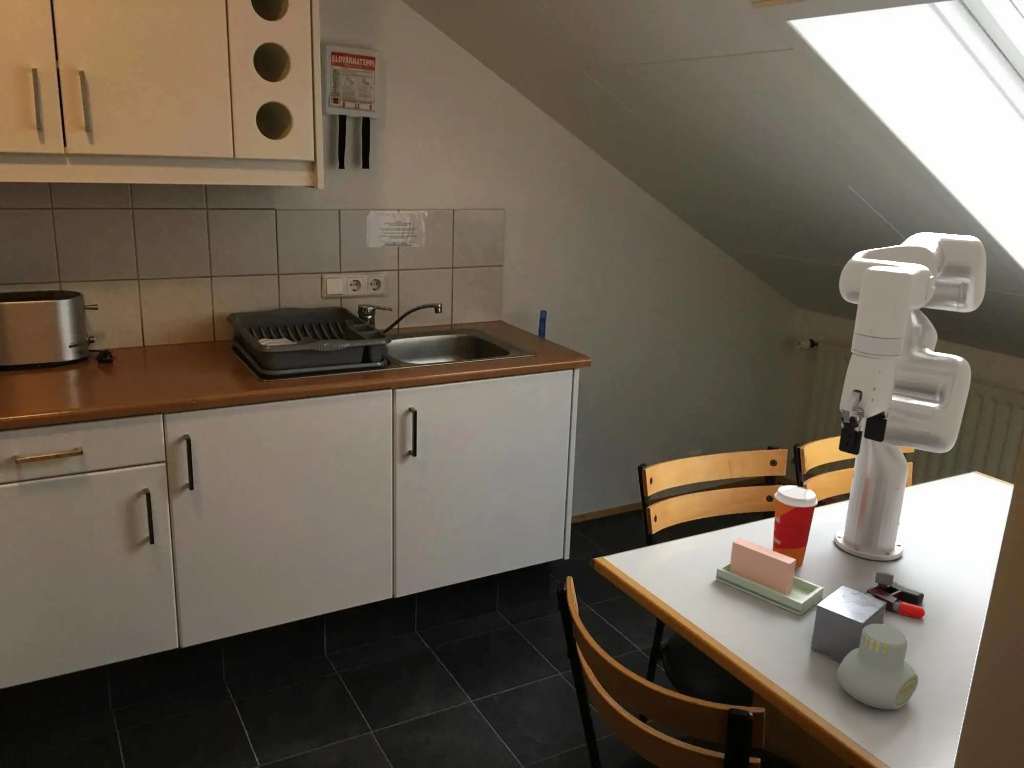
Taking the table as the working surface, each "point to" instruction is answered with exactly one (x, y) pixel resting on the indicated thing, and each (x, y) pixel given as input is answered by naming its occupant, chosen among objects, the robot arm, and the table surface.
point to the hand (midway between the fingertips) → (861, 446)
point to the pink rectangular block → (762, 566)
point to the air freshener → (879, 669)
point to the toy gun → (897, 596)
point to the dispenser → (844, 622)
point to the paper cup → (793, 521)
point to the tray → (794, 601)
